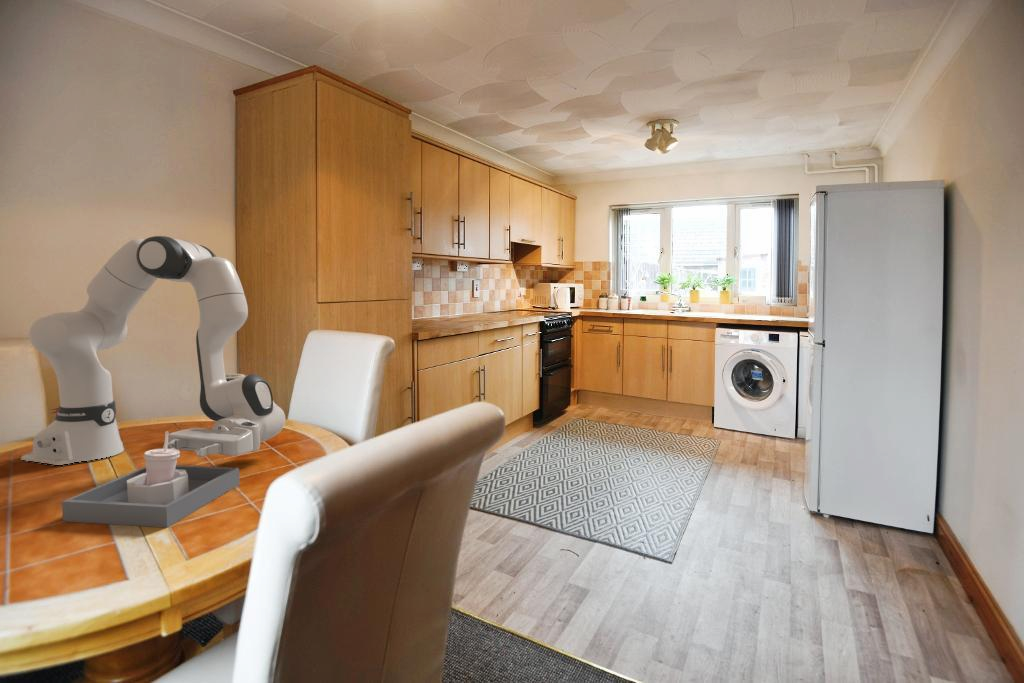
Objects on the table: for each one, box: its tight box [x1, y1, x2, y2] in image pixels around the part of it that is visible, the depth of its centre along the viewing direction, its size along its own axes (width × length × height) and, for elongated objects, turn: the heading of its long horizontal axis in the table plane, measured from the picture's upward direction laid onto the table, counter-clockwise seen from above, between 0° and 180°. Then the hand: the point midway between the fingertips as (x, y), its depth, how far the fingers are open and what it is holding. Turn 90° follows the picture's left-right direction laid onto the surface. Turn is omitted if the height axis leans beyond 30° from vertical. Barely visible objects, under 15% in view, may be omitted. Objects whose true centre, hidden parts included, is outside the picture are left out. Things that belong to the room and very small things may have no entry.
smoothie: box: [143, 430, 181, 485], centre depth 110 cm, size 6×6×14 cm
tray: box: [61, 464, 241, 528], centre depth 110 cm, size 22×22×5 cm
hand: (181, 451), depth 115 cm, fingers open, 8 cm apart
